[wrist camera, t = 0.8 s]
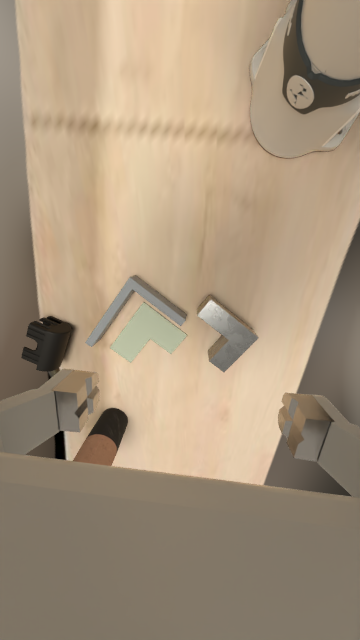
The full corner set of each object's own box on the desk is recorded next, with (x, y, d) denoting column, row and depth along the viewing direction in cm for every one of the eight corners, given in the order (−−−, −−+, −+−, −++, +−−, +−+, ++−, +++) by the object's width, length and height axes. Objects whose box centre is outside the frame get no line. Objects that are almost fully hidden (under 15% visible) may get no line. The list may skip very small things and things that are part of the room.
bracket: (209, 294, 44) (210, 299, 39) (252, 328, 45) (258, 337, 41) (180, 329, 47) (178, 338, 42) (221, 360, 48) (224, 372, 43)
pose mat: (143, 301, 45) (143, 302, 45) (187, 334, 47) (187, 335, 47) (110, 347, 49) (109, 348, 49) (151, 376, 51) (151, 377, 51)
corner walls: (135, 275, 44) (129, 277, 40) (186, 314, 45) (185, 320, 42) (94, 335, 49) (85, 342, 45) (141, 369, 50) (136, 378, 47)
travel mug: (125, 406, 54) (86, 488, 35) (131, 429, 56) (98, 519, 37) (97, 408, 55) (44, 489, 36) (104, 431, 57) (58, 519, 38)
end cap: (68, 360, 52) (49, 375, 45) (40, 349, 51) (18, 362, 45) (78, 326, 48) (60, 336, 42) (49, 313, 48) (27, 322, 42)
